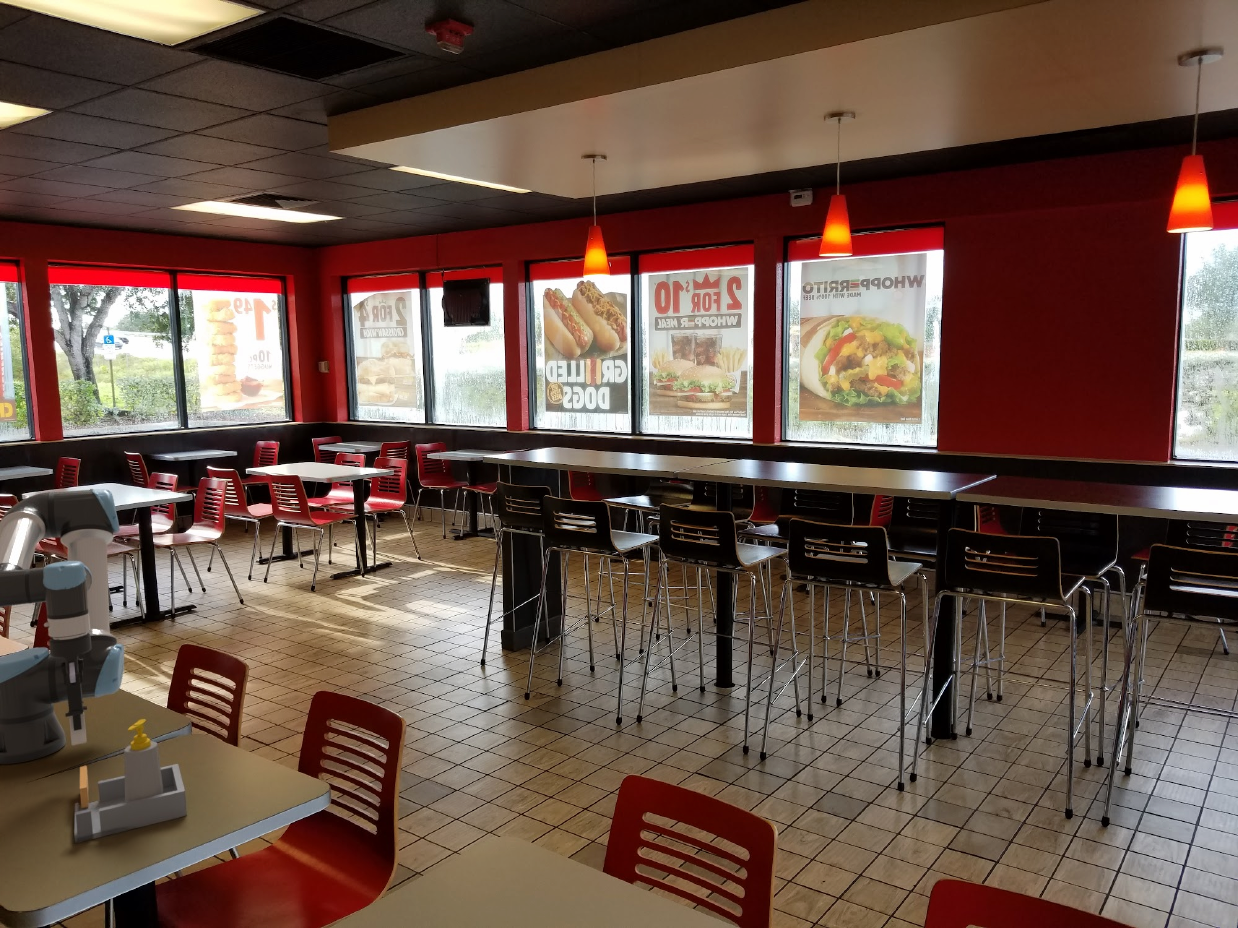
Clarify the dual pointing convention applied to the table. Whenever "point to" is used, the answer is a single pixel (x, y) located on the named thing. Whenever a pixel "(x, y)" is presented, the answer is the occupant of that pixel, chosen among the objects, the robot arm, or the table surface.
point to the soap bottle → (142, 766)
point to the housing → (129, 807)
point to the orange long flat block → (84, 787)
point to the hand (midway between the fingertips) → (79, 742)
